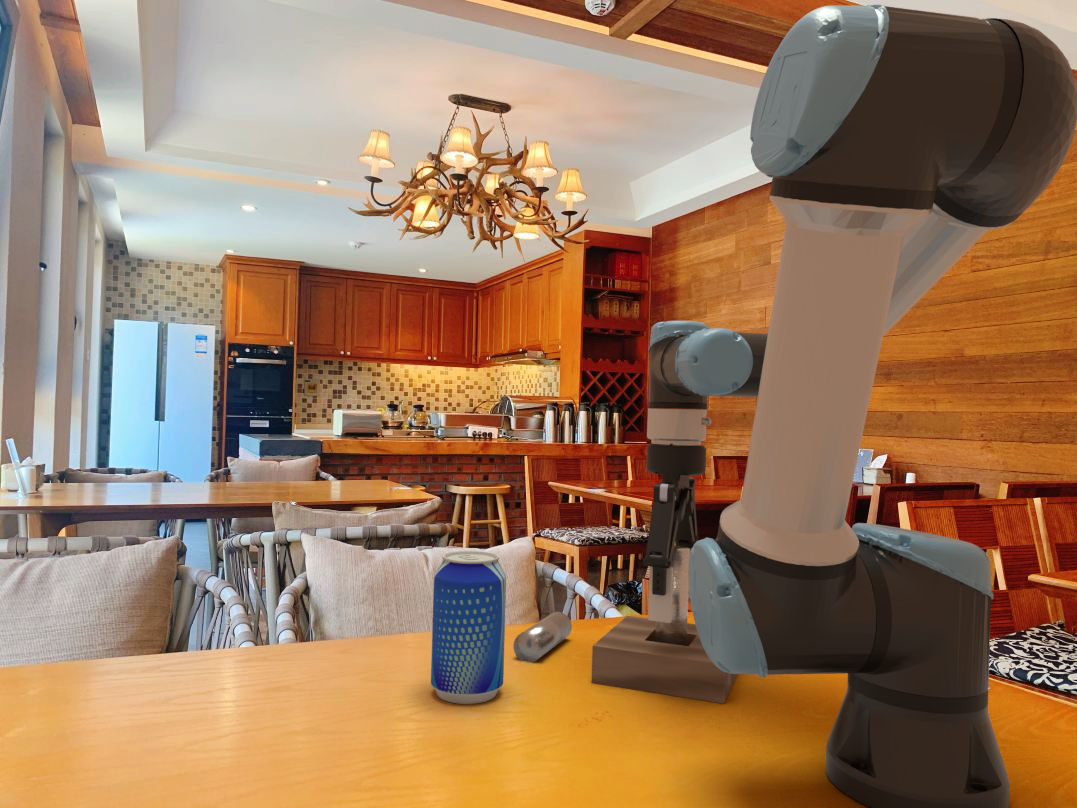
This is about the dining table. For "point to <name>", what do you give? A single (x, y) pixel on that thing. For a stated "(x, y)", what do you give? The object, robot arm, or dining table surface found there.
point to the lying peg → (542, 637)
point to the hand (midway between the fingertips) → (671, 608)
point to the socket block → (657, 663)
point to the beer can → (468, 627)
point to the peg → (677, 601)
